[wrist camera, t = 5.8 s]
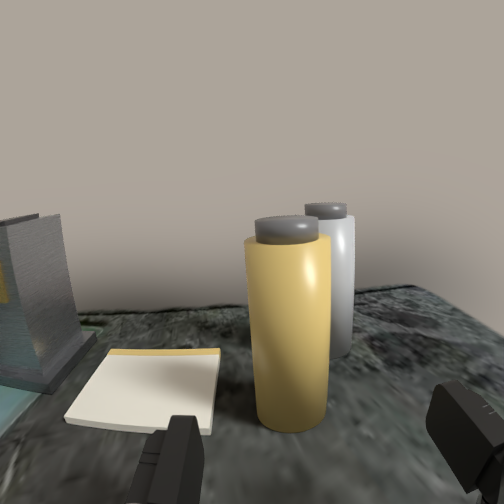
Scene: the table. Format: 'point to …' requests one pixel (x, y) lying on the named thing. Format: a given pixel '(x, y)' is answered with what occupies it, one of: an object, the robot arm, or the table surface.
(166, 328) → the table surface
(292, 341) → the cylinder
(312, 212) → the cylinder
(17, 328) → the unit
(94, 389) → the pad
